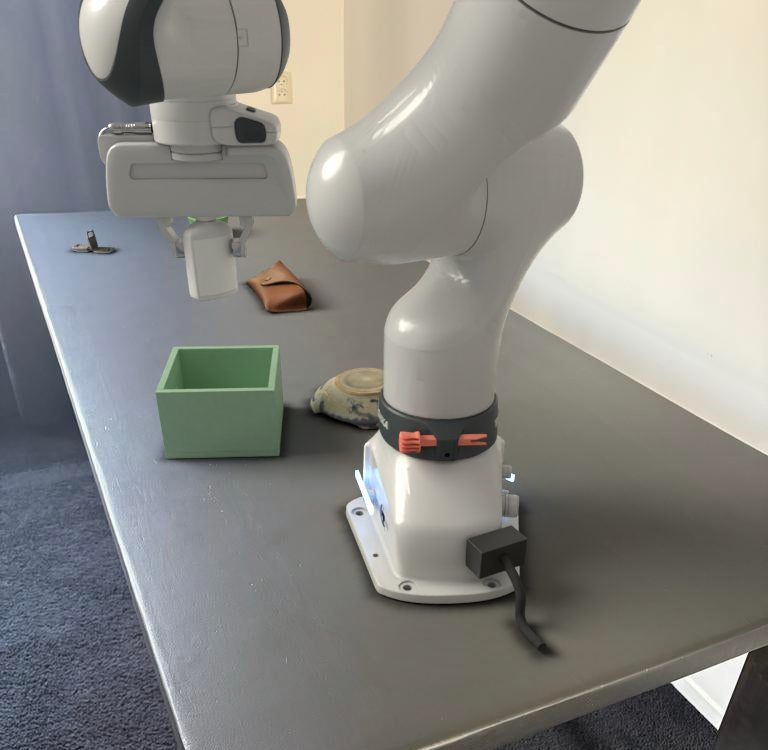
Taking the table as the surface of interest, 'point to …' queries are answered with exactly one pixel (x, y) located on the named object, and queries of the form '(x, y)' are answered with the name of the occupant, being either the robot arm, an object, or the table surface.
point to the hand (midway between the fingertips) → (210, 256)
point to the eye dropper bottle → (210, 259)
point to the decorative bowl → (351, 397)
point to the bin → (221, 402)
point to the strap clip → (91, 245)
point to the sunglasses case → (280, 290)
